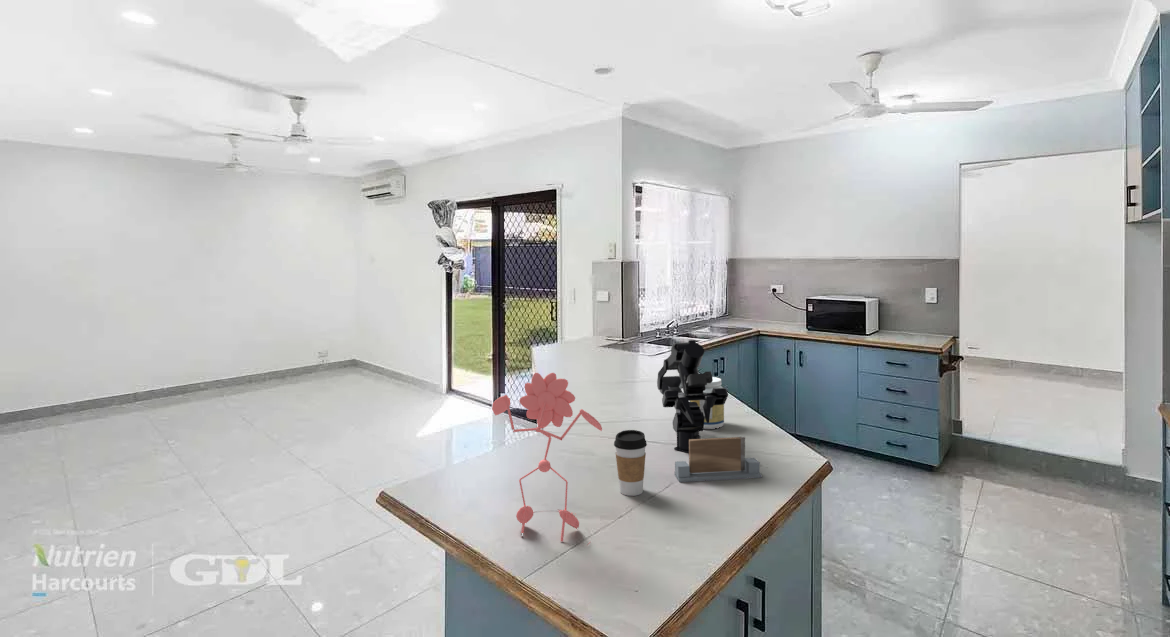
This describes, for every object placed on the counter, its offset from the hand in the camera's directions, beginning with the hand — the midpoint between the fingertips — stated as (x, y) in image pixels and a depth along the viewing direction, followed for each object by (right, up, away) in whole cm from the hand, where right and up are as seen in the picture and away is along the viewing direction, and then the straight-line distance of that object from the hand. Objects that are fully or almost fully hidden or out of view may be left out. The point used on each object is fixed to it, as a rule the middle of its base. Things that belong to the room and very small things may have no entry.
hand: (700, 422), depth 155 cm
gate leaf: (+3, -12, -7) cm, 14 cm away
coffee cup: (-21, -15, -16) cm, 30 cm away
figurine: (-40, -17, -33) cm, 55 cm away
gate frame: (+3, -13, -7) cm, 15 cm away
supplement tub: (+11, -9, +41) cm, 43 cm away
